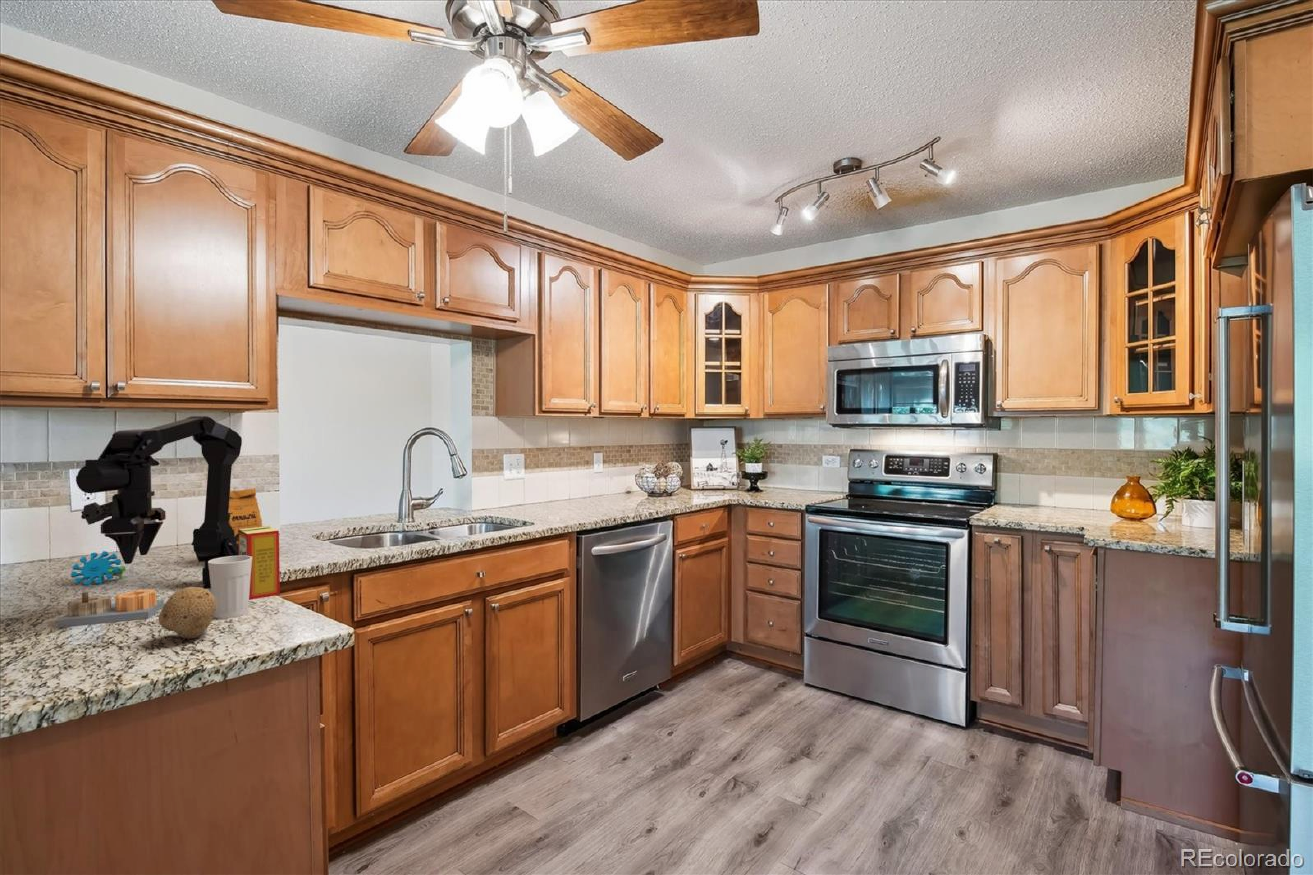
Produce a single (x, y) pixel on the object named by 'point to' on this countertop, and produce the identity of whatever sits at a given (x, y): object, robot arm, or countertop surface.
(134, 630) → the countertop surface
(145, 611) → the gear board
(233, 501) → the coffee package
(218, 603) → the cup
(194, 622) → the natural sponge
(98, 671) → the countertop surface
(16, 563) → the countertop surface
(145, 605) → the orange gear
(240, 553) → the baking soda box
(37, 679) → the countertop surface
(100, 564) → the gear
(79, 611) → the birch gear
